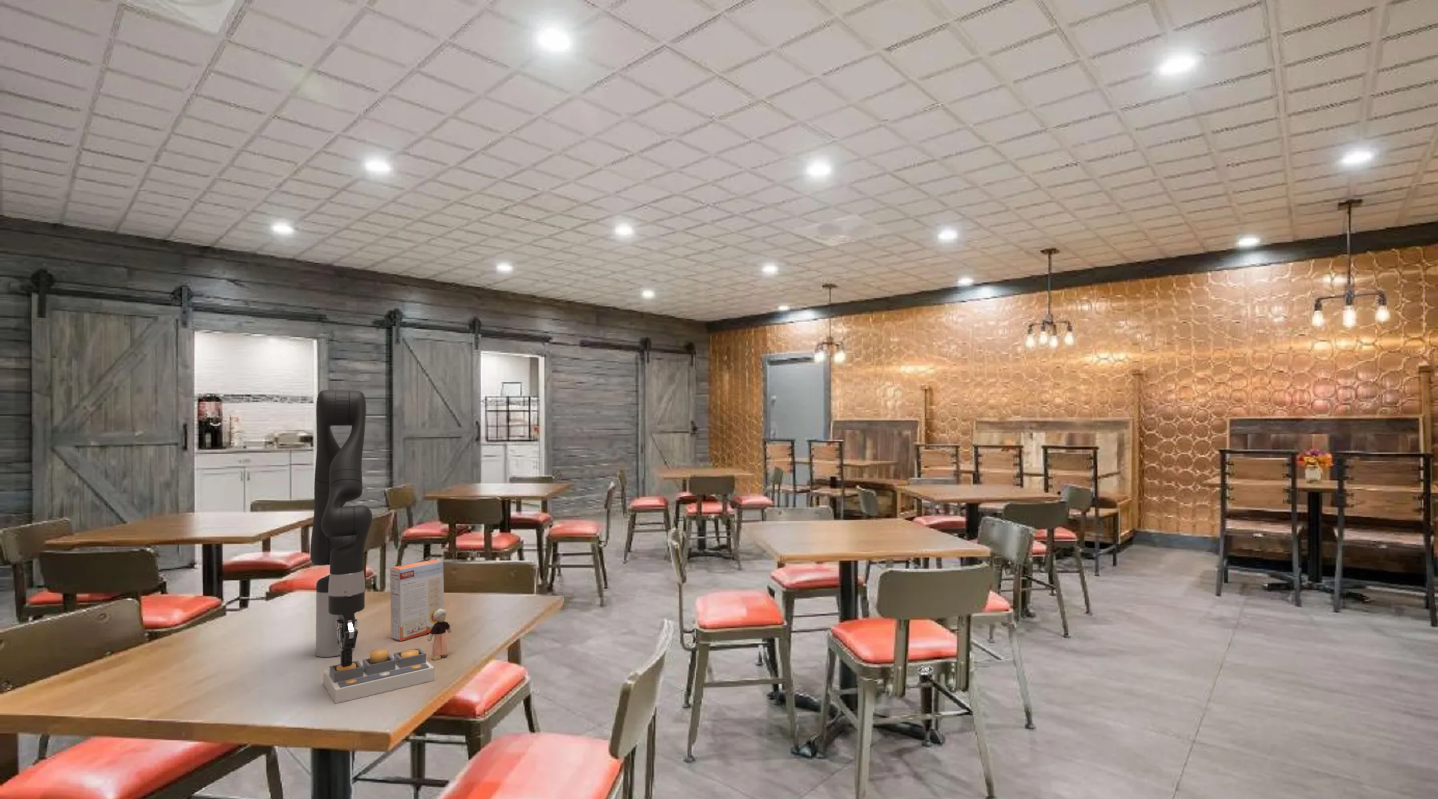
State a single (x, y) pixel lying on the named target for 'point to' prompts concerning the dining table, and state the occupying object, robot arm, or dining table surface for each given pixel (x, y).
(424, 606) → the cracker box
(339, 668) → the left button
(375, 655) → the middle button
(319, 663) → the dining table surface
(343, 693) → the button console
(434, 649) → the grandmother figurine
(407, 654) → the right button
